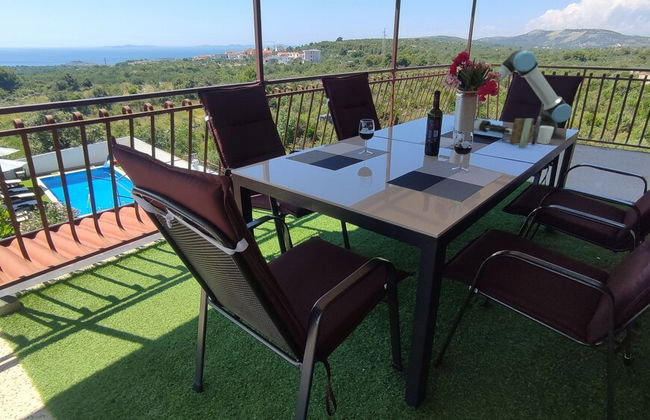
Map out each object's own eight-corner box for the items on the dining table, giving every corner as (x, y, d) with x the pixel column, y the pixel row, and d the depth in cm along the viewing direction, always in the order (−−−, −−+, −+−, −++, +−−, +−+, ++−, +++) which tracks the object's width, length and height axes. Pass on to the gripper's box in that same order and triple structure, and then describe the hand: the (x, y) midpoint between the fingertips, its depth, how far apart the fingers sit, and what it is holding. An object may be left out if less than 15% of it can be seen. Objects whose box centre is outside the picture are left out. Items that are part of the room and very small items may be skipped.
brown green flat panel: (527, 142, 232) (533, 118, 225) (528, 143, 231) (534, 118, 224) (509, 143, 231) (514, 118, 224) (510, 143, 229) (515, 119, 223)
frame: (532, 143, 231) (539, 116, 224) (535, 144, 230) (542, 116, 223) (518, 147, 223) (525, 118, 216) (522, 148, 222) (528, 119, 215)
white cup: (548, 145, 229) (553, 128, 225) (534, 143, 233) (538, 127, 229) (550, 142, 235) (555, 126, 231) (537, 140, 239) (541, 125, 235)
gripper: (487, 130, 252) (520, 137, 234) (474, 132, 245) (507, 139, 227) (489, 119, 248) (523, 125, 231) (477, 120, 242) (510, 127, 224)
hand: (515, 132), depth 229 cm, fingers closed
